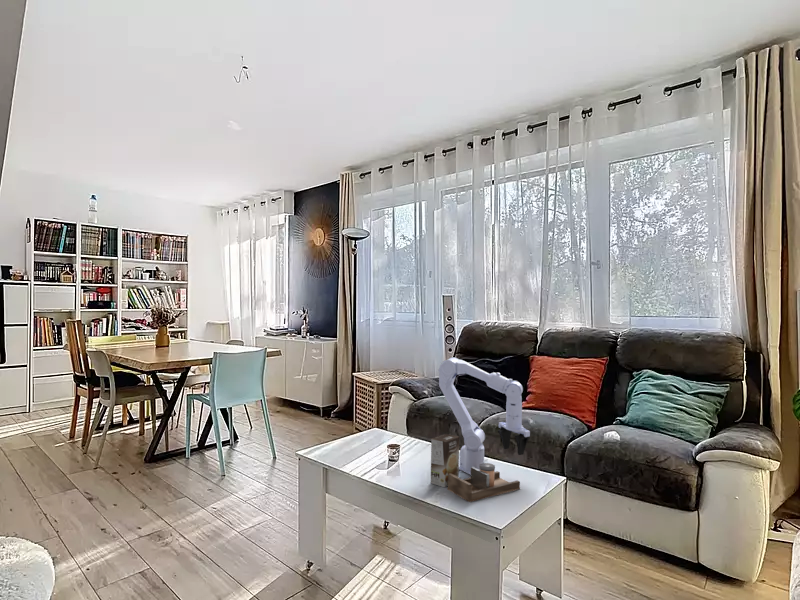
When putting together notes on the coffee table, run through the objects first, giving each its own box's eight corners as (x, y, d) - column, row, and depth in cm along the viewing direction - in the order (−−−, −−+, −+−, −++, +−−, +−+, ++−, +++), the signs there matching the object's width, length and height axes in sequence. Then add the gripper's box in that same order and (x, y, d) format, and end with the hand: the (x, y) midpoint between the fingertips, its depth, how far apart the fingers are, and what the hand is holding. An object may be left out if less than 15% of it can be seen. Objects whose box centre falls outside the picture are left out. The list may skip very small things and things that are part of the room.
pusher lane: (447, 489, 169) (447, 473, 169) (496, 477, 180) (497, 462, 180) (469, 502, 159) (469, 485, 159) (520, 489, 170) (520, 473, 170)
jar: (476, 485, 171) (476, 464, 171) (487, 483, 174) (487, 462, 174) (486, 491, 167) (486, 469, 166) (497, 488, 169) (497, 466, 169)
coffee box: (444, 488, 170) (445, 442, 170) (430, 483, 174) (430, 438, 174) (459, 480, 177) (459, 436, 177) (444, 476, 181) (445, 432, 181)
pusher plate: (470, 484, 172) (470, 467, 172) (473, 483, 172) (473, 466, 172) (486, 492, 165) (486, 475, 165) (489, 492, 165) (489, 474, 165)
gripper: (536, 417, 177) (535, 455, 177) (508, 409, 189) (508, 444, 190) (521, 420, 173) (521, 458, 174) (494, 411, 186) (494, 447, 186)
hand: (513, 451), depth 181 cm, fingers open, 7 cm apart
